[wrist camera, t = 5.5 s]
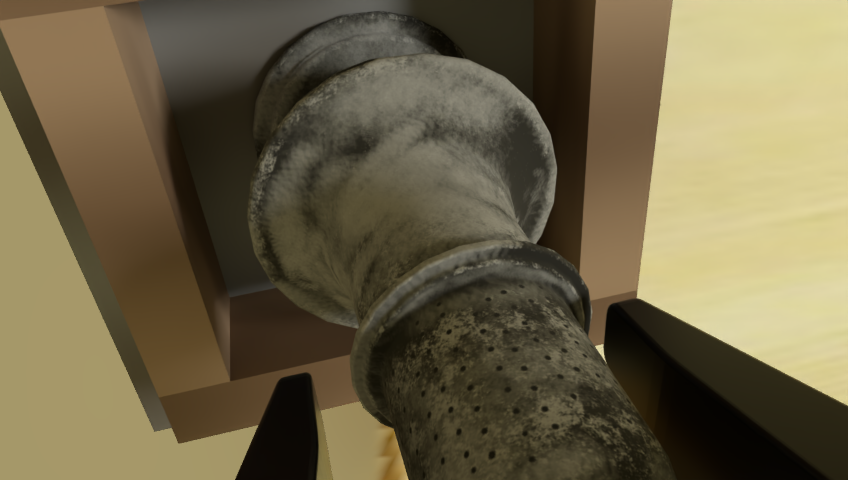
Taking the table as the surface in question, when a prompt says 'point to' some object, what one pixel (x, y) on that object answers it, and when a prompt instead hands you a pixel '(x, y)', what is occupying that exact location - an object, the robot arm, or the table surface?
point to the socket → (236, 159)
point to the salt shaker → (437, 255)
